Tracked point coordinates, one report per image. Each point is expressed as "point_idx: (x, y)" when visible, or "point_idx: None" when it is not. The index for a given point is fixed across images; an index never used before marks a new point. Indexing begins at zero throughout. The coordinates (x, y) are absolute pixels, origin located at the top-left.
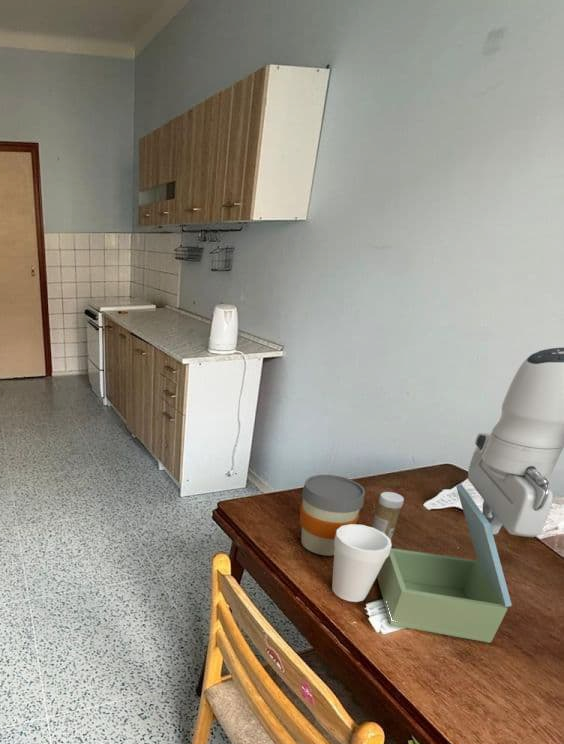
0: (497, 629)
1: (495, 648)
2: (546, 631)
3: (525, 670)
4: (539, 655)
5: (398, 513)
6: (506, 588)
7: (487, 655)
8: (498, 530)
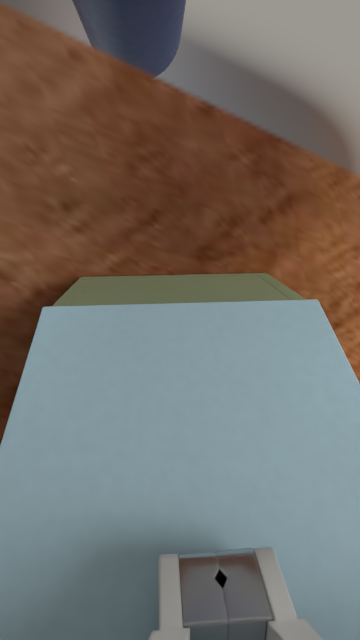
0: (280, 282)
1: (281, 268)
2: (188, 114)
3: (338, 227)
4: (285, 175)
5: None
6: (345, 359)
7: (306, 291)
8: (280, 573)
